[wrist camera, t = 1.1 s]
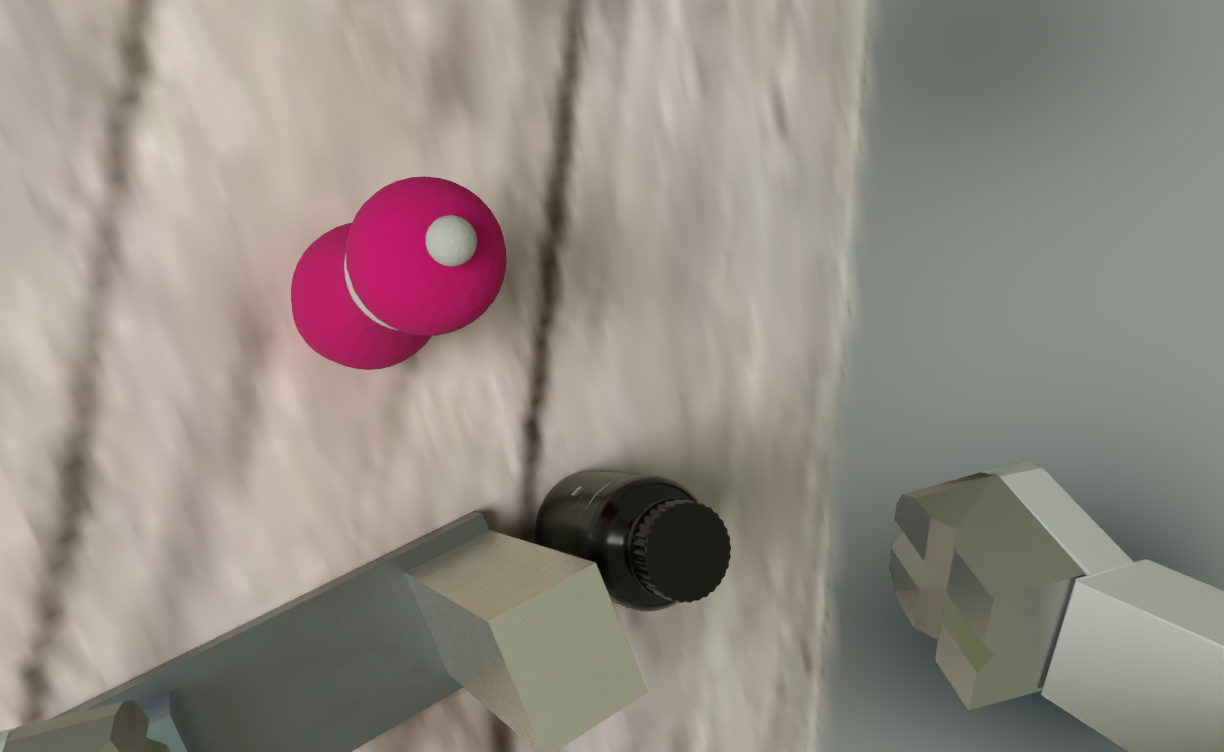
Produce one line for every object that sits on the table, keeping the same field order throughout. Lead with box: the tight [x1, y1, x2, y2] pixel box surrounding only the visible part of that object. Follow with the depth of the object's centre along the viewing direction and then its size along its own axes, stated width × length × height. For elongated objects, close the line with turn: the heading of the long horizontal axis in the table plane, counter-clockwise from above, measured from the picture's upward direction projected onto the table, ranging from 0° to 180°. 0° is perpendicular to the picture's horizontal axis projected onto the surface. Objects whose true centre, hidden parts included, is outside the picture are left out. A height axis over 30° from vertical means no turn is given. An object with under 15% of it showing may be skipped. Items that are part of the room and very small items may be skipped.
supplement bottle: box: [535, 471, 731, 611], centre depth 49 cm, size 7×7×12 cm
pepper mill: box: [291, 177, 506, 370], centre depth 41 cm, size 7×7×20 cm
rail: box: [52, 511, 648, 752], centre depth 41 cm, size 22×8×16 cm, turn 114°
